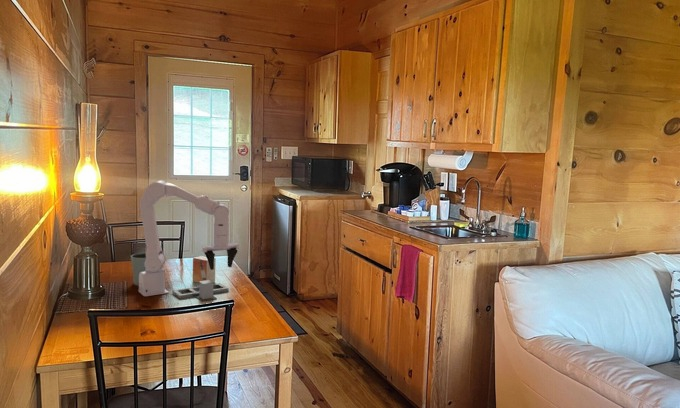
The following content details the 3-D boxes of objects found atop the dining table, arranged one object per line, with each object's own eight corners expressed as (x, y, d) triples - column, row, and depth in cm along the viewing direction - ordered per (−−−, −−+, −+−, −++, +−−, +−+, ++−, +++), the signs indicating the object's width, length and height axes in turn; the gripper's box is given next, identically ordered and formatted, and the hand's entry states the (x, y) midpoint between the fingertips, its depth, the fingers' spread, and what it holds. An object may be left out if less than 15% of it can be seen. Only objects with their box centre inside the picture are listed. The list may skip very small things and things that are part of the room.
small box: (192, 281, 215) (192, 257, 213) (201, 278, 220) (201, 255, 218) (206, 284, 211) (206, 260, 210) (215, 281, 216) (215, 257, 215)
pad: (201, 301, 189) (201, 300, 189) (195, 297, 194) (195, 296, 194) (216, 299, 193) (216, 298, 193) (210, 295, 197) (210, 294, 197)
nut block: (203, 299, 190) (203, 284, 190) (199, 296, 194) (199, 281, 193) (213, 297, 193) (213, 282, 192) (209, 295, 196) (209, 280, 195)
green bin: (162, 282, 212) (162, 254, 211) (143, 287, 203) (143, 258, 202) (144, 278, 216) (144, 251, 215) (125, 284, 207) (125, 255, 206)
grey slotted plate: (179, 299, 191) (179, 295, 191) (172, 293, 197) (172, 290, 197) (228, 291, 203) (228, 288, 203) (220, 286, 209) (220, 283, 209)
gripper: (207, 237, 192) (207, 272, 193) (242, 234, 200) (241, 267, 202) (200, 234, 197) (200, 268, 199) (234, 231, 206) (234, 264, 207)
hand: (220, 267), depth 201 cm, fingers open, 7 cm apart
